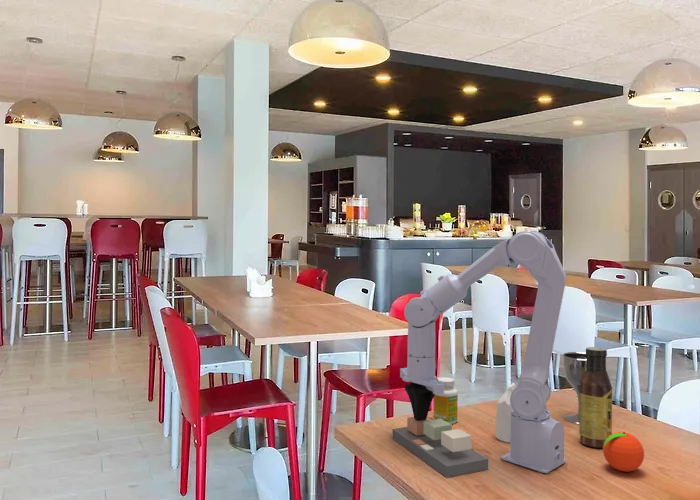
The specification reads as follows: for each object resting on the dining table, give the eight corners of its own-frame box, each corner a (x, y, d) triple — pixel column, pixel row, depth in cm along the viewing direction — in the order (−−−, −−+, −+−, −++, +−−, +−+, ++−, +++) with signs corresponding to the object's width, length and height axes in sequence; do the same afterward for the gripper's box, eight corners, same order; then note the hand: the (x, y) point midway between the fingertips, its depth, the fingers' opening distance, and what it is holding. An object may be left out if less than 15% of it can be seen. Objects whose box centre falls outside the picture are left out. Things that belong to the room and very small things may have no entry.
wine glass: (554, 416, 140) (555, 353, 139) (579, 412, 143) (580, 351, 143) (580, 426, 133) (582, 360, 132) (606, 422, 136) (607, 357, 135)
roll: (498, 377, 129) (524, 379, 127) (497, 431, 129) (523, 434, 127) (495, 384, 123) (523, 387, 121) (494, 441, 123) (522, 444, 122)
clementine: (615, 480, 104) (616, 441, 104) (589, 465, 111) (590, 428, 111) (652, 475, 107) (653, 437, 106) (624, 461, 113) (625, 424, 113)
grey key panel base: (488, 469, 109) (488, 457, 109) (446, 477, 105) (447, 465, 105) (429, 432, 128) (429, 422, 128) (392, 438, 124) (392, 428, 124)
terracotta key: (433, 433, 121) (433, 421, 121) (416, 435, 120) (417, 423, 120) (423, 427, 125) (423, 415, 125) (407, 429, 124) (407, 417, 123)
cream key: (471, 449, 110) (471, 435, 109) (452, 452, 108) (453, 438, 108) (459, 441, 113) (459, 428, 113) (441, 444, 112) (441, 431, 111)
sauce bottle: (614, 450, 119) (617, 352, 118) (581, 448, 120) (584, 351, 119) (607, 439, 125) (609, 346, 124) (576, 436, 126) (578, 344, 125)
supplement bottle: (450, 426, 132) (450, 383, 132) (429, 421, 136) (429, 379, 135) (461, 420, 137) (461, 378, 136) (440, 415, 140) (441, 375, 139)
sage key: (451, 437, 115) (451, 424, 115) (434, 440, 114) (434, 427, 114) (440, 430, 119) (440, 418, 119) (423, 433, 118) (423, 421, 117)
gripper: (388, 349, 127) (387, 411, 127) (422, 364, 114) (421, 433, 114) (416, 347, 130) (415, 407, 130) (453, 361, 116) (452, 428, 117)
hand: (420, 419), depth 122 cm, fingers closed, pressing on terracotta key
